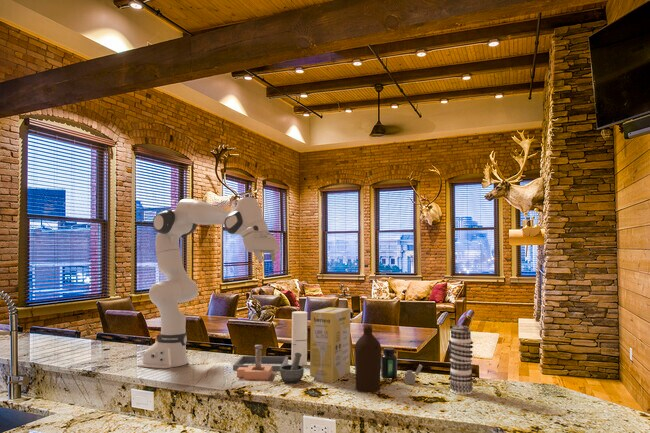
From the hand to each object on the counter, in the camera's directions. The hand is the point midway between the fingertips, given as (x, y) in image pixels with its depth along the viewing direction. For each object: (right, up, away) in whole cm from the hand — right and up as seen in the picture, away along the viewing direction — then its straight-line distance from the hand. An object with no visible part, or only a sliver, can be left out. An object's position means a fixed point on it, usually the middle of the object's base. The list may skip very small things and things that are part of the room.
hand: (268, 261), depth 197 cm
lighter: (+60, -50, -4) cm, 78 cm away
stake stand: (-4, -49, 0) cm, 49 cm away
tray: (-5, -50, +18) cm, 54 cm away
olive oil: (+40, -49, -12) cm, 65 cm away
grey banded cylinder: (+76, -49, -14) cm, 92 cm away
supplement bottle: (+51, -50, +6) cm, 72 cm away
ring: (-6, -48, 0) cm, 48 cm away
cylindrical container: (+12, -51, +21) cm, 57 cm away
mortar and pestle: (+10, -49, -6) cm, 51 cm away
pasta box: (+26, -50, +7) cm, 57 cm away
